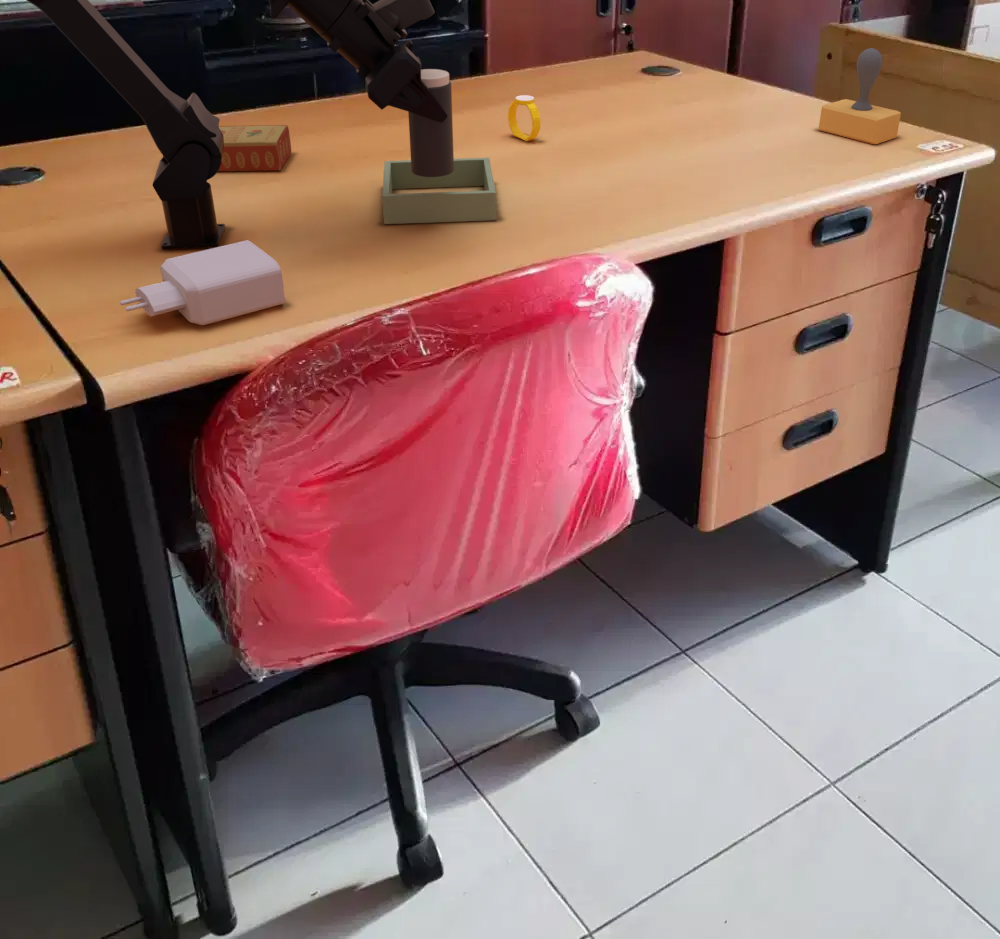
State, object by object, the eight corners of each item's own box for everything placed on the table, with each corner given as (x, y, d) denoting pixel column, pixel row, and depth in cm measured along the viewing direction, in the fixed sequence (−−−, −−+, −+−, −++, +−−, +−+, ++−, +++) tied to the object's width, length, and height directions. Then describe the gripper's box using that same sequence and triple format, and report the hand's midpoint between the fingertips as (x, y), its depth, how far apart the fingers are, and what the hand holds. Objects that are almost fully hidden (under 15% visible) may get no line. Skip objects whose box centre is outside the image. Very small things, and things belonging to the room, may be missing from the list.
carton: (280, 172, 147) (276, 140, 144) (164, 172, 147) (158, 141, 145) (292, 153, 154) (288, 123, 151) (181, 153, 154) (175, 123, 152)
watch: (504, 135, 160) (503, 94, 156) (518, 132, 161) (518, 91, 158) (529, 145, 156) (529, 103, 152) (544, 141, 157) (544, 99, 154)
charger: (113, 313, 110) (250, 278, 117) (143, 346, 103) (287, 307, 110) (103, 269, 107) (244, 236, 114) (133, 301, 101) (281, 264, 108)
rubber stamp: (897, 137, 157) (914, 51, 150) (874, 145, 154) (890, 57, 147) (840, 123, 163) (853, 39, 156) (816, 130, 160) (829, 45, 153)
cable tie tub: (454, 176, 125) (451, 78, 119) (411, 178, 124) (406, 79, 118) (453, 163, 129) (450, 67, 123) (411, 164, 129) (406, 69, 123)
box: (496, 220, 130) (495, 192, 128) (384, 224, 130) (381, 196, 128) (489, 183, 142) (489, 157, 140) (386, 187, 141) (384, 160, 139)
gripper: (393, -32, 106) (504, 78, 113) (379, -58, 121) (478, 41, 128) (320, 55, 109) (433, 157, 116) (316, 19, 124) (416, 111, 132)
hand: (442, 113), depth 123 cm, fingers closed on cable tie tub, 5 cm apart
